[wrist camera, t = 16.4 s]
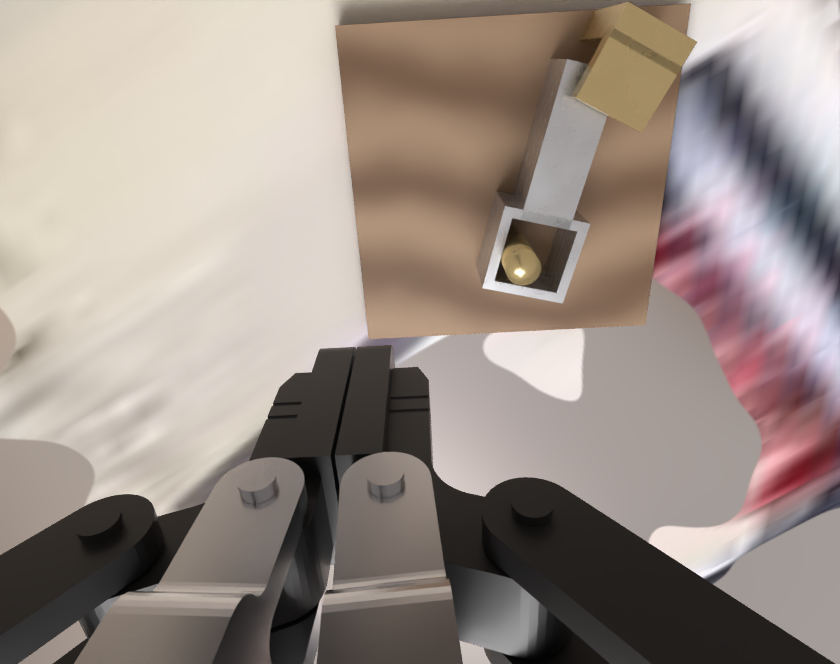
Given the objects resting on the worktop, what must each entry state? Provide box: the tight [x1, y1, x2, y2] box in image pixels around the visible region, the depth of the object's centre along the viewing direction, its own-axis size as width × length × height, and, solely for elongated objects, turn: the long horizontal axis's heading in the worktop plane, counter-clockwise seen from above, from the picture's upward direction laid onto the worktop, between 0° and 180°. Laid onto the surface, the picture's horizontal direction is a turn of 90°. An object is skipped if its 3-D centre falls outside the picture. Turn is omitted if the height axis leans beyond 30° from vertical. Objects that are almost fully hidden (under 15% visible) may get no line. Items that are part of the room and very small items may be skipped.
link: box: [476, 59, 607, 303], centre depth 33 cm, size 13×5×4 cm, turn 168°
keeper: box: [571, 2, 697, 133], centre depth 30 cm, size 5×4×6 cm
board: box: [335, 4, 691, 339], centre depth 36 cm, size 20×20×1 cm
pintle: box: [500, 224, 541, 286], centre depth 34 cm, size 2×2×6 cm
